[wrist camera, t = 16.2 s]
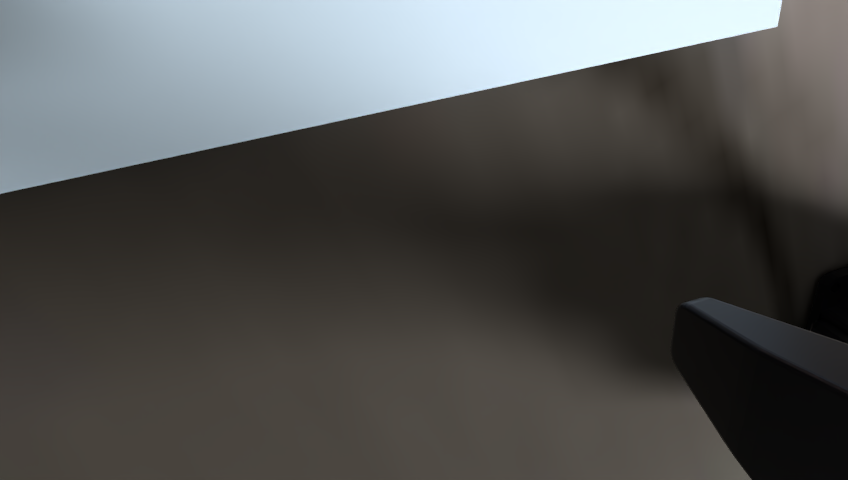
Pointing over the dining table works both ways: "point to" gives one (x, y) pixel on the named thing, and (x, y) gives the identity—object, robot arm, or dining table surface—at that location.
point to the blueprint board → (290, 65)
